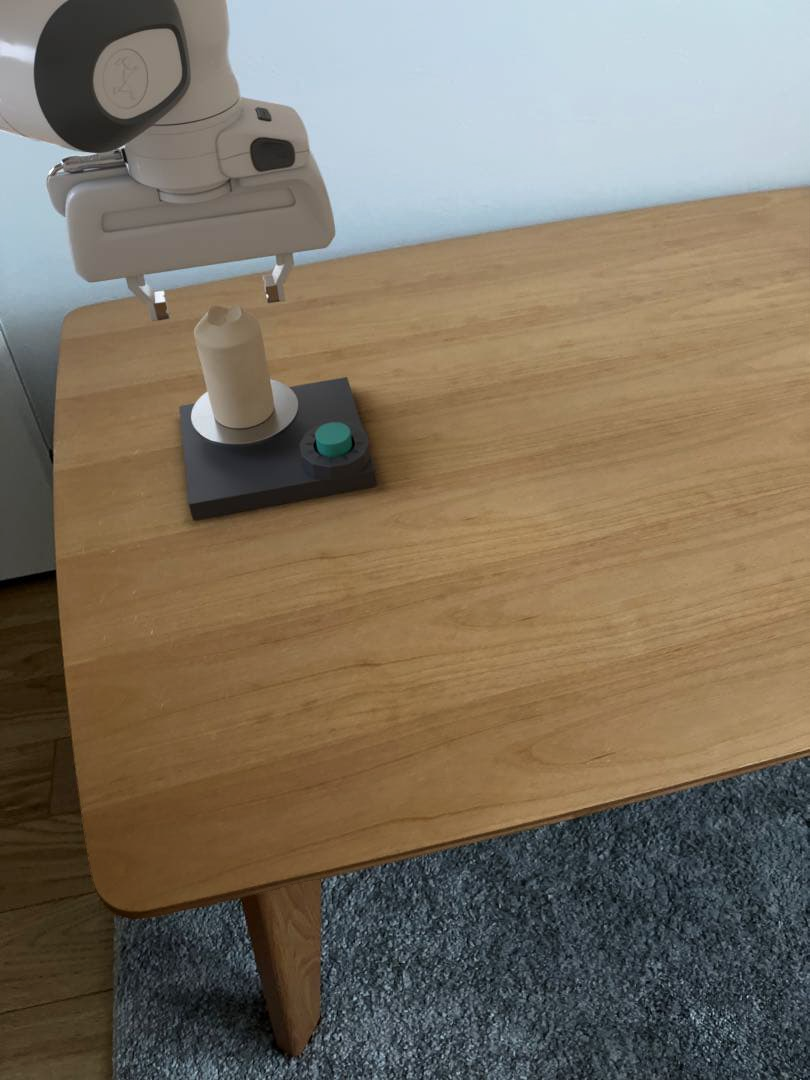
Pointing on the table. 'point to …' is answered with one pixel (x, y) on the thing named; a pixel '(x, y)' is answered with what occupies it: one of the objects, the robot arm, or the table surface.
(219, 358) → the candle
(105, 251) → the robot arm
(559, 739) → the table surface
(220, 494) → the scale
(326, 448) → the button
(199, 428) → the silver metal disc
